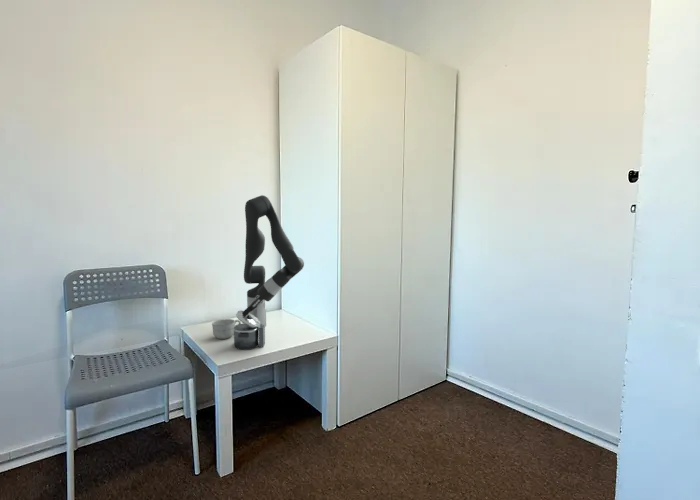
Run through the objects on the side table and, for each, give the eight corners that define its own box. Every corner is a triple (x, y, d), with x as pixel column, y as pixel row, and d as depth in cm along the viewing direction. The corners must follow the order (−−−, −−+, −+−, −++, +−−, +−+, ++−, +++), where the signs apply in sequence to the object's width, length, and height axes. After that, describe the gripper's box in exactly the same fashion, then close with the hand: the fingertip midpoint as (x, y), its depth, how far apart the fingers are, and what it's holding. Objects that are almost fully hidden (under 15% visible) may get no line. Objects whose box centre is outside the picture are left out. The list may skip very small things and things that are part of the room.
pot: (237, 339, 196) (237, 321, 194) (266, 339, 196) (266, 321, 195) (230, 351, 181) (230, 331, 180) (261, 351, 182) (261, 331, 181)
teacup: (213, 342, 192) (213, 325, 191) (211, 334, 202) (211, 319, 201) (243, 338, 198) (242, 322, 197) (239, 331, 208) (239, 316, 207)
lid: (239, 309, 193) (241, 306, 192) (261, 322, 194) (263, 319, 194) (233, 317, 181) (235, 313, 180) (256, 330, 182) (258, 327, 182)
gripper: (266, 280, 192) (240, 305, 193) (262, 286, 179) (234, 313, 180) (277, 291, 193) (252, 315, 194) (274, 298, 180) (246, 324, 181)
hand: (243, 314), depth 187 cm, fingers closed
